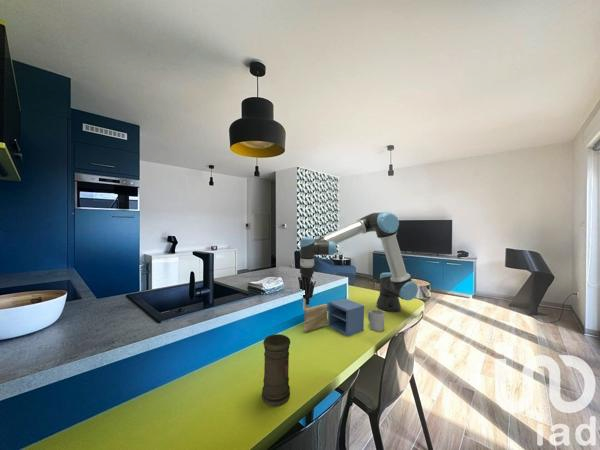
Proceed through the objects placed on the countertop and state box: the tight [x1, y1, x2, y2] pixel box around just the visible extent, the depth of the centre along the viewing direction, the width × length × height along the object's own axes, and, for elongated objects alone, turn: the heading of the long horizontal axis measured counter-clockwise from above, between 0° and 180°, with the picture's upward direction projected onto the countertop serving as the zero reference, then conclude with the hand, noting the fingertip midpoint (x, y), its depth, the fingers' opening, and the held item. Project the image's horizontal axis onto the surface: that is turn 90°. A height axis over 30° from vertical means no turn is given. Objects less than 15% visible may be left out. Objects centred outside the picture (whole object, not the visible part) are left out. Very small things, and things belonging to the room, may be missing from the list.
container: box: [261, 333, 291, 407], centre depth 77 cm, size 9×9×18 cm
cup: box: [367, 308, 385, 333], centre depth 129 cm, size 7×10×9 cm
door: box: [303, 303, 329, 332], centre depth 125 cm, size 1×15×11 cm, turn 126°
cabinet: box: [327, 298, 365, 337], centre depth 127 cm, size 12×14×13 cm
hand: (305, 309), depth 130 cm, fingers closed
